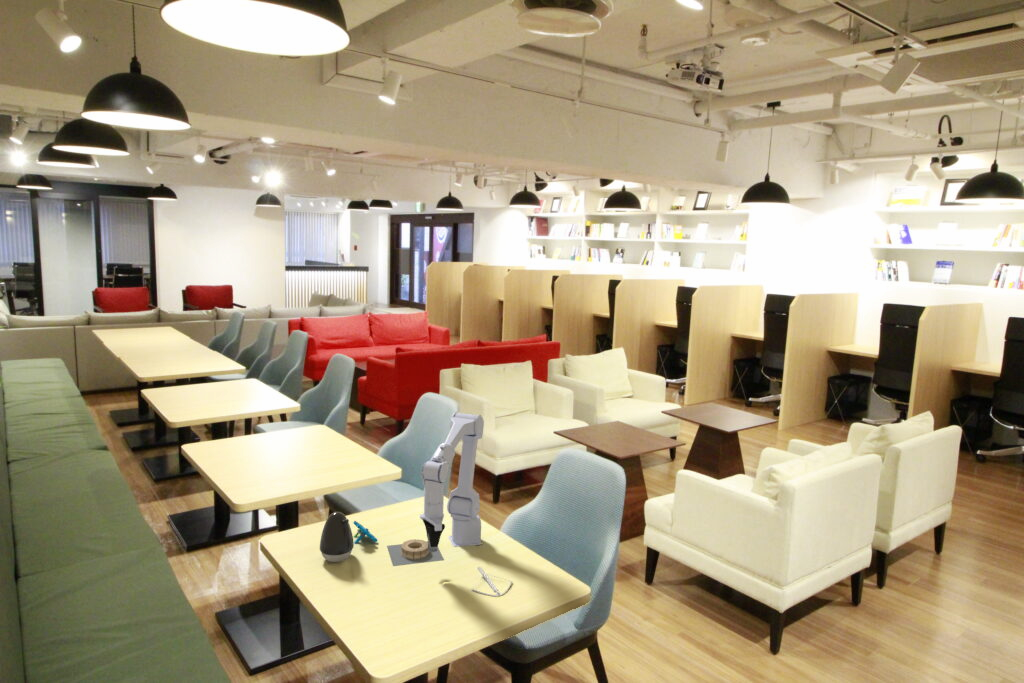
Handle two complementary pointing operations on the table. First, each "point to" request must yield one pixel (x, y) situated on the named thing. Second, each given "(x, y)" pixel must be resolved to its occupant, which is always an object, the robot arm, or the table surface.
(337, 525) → the pump dispenser
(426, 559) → the mat
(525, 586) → the table surface
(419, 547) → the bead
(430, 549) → the peg
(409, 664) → the table surface
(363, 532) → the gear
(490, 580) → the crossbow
